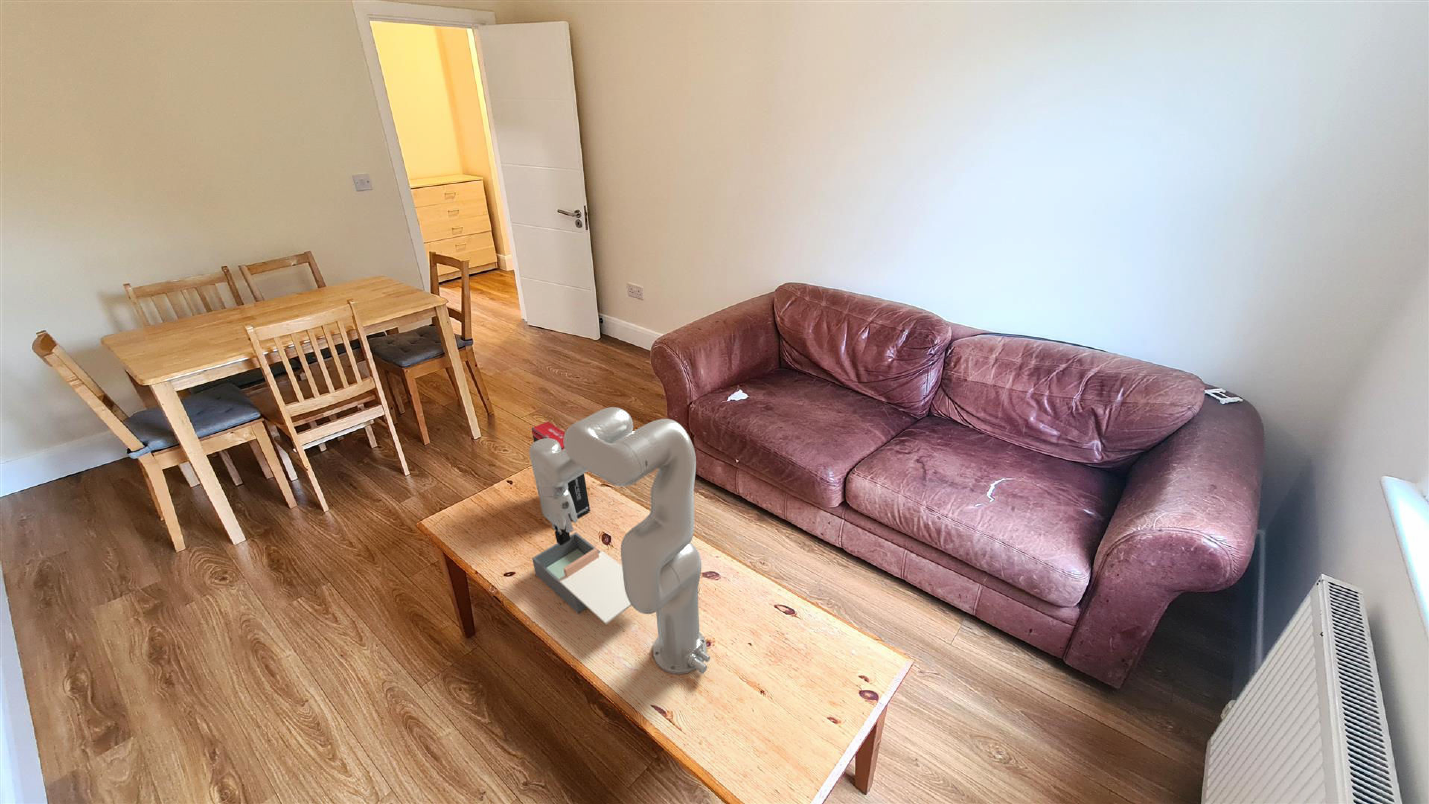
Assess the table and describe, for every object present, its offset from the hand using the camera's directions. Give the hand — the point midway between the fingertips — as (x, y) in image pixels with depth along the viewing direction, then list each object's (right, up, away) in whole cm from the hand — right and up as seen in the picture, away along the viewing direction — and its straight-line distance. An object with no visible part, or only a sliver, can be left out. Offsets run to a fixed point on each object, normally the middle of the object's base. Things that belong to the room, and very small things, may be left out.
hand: (563, 541), depth 154 cm
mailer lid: (+12, -9, -8) cm, 18 cm away
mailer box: (+3, -11, +2) cm, 12 cm away
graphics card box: (-7, +4, +30) cm, 31 cm away
